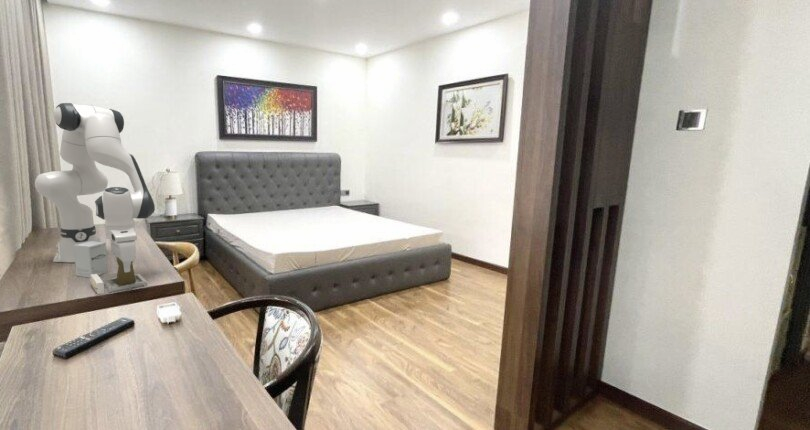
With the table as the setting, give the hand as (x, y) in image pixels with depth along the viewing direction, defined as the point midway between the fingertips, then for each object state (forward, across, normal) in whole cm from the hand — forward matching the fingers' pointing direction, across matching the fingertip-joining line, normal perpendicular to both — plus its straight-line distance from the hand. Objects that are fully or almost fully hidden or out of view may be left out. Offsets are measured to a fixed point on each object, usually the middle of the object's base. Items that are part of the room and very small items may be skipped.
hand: (123, 268), depth 146 cm
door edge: (+6, -1, -8) cm, 10 cm away
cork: (+5, 0, 0) cm, 5 cm away
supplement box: (+6, -21, -6) cm, 23 cm away
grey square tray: (+6, 0, 0) cm, 6 cm away
